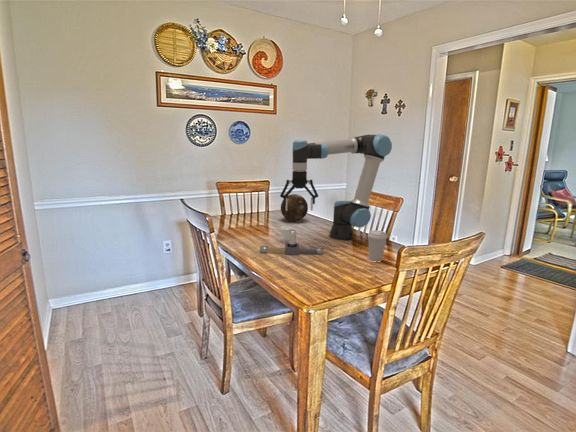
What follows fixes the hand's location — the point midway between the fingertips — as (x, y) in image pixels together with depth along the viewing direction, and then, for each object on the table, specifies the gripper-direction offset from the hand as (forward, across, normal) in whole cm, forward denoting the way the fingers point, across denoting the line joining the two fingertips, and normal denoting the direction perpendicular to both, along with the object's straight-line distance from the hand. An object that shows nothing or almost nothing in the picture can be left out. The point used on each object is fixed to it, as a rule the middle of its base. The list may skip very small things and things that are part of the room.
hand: (299, 210), depth 181 cm
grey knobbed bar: (+22, +4, +6) cm, 23 cm away
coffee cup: (+23, -38, +17) cm, 48 cm away
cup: (+22, +8, -14) cm, 27 cm away
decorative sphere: (+23, -2, -64) cm, 68 cm away
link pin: (+22, +4, +6) cm, 23 cm away
